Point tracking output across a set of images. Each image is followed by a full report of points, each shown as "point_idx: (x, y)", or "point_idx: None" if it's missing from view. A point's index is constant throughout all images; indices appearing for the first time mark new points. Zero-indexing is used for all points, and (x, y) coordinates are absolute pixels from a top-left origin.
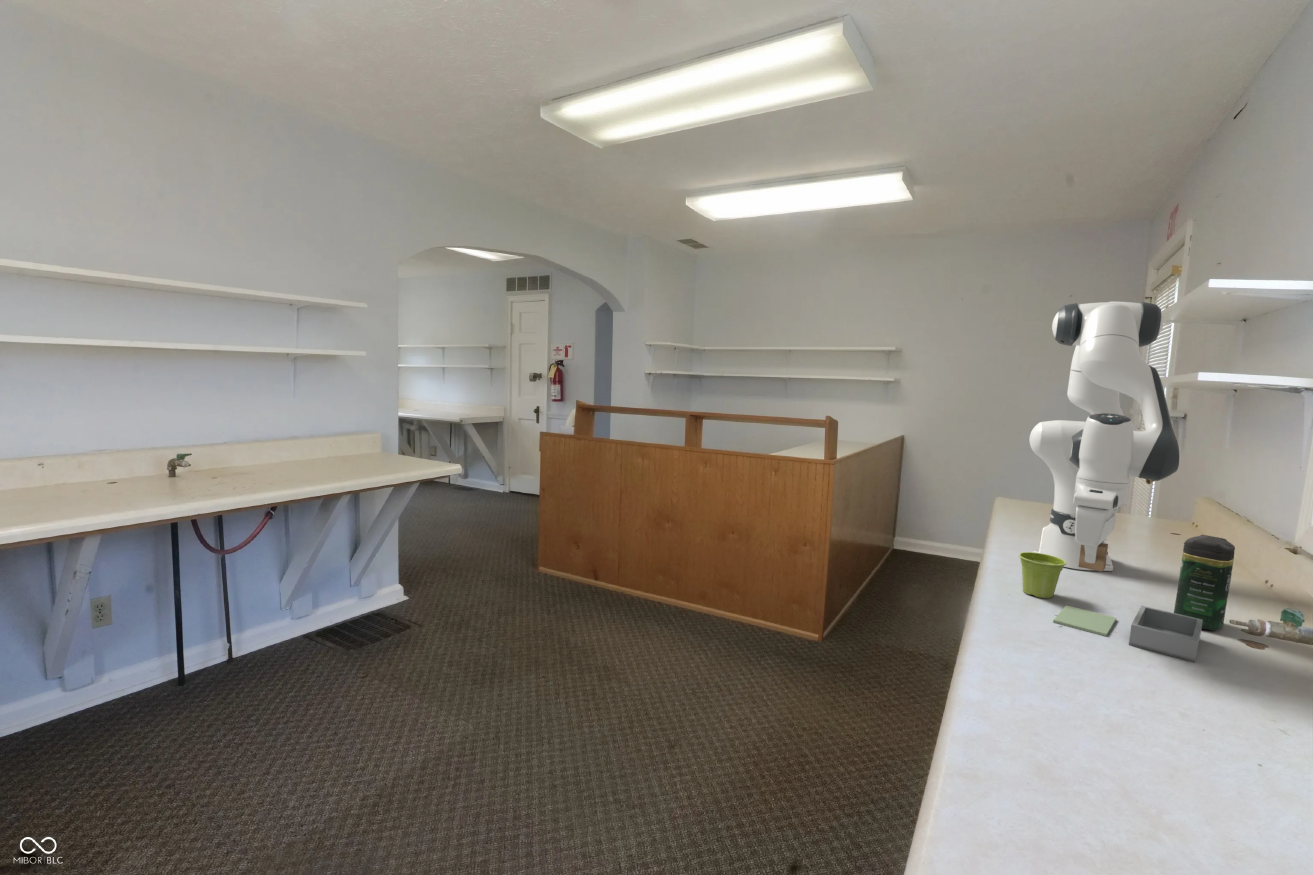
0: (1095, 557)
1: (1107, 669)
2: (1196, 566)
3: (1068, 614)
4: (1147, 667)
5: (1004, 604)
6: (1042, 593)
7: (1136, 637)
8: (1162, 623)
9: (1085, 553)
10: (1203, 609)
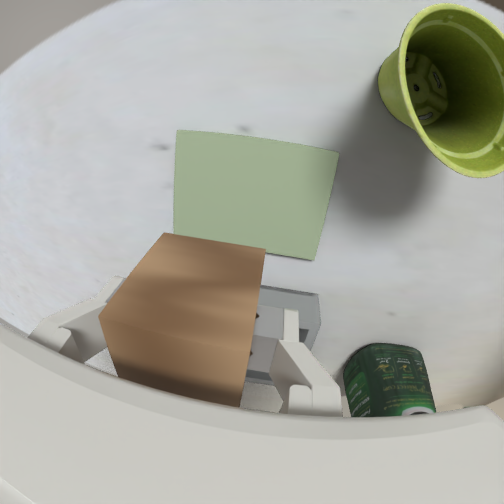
0: None
1: (45, 233)
2: None
3: (254, 158)
4: (93, 279)
5: (235, 10)
6: (382, 94)
7: None
8: (300, 332)
9: (95, 299)
10: (349, 394)
